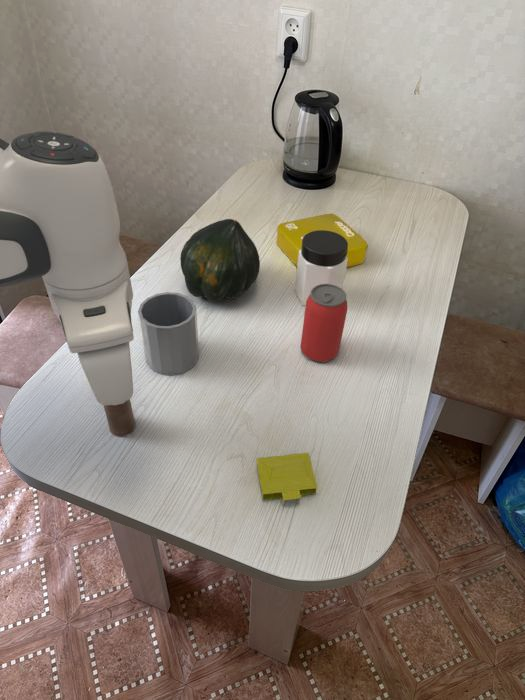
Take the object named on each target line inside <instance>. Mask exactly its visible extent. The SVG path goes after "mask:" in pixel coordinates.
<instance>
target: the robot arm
mask: <svg viewBox="0 0 525 700" xmlns="http://www.w3.org/2000/svg"><path fill="white" fill-rule="evenodd" d="M120 232H121V221H120V215H119V210H118V206H117V200H116V197H115V192H114V189H113V185H112V182H111V179H110V176H109V173H108V170H107V167H106V166H105V162H104V160H103V159H102V158H101V156H100V154H99V153H98V151H97V150H96V149H95V148H94V147H93V146H91V144H89V143H88V142H86V141H84V140H82V139H80V138H77V137H75V136H74V135H70V134H68V133H63V132H59V131H50V130H43V131H42V130H41V131H40V130H39V131H34V132H28V133H23V134H20V135H18V136H16V137H15V138H14V139H12V140H11V141H10V143H8V142H7V141H5V140H3V139H2V138H0V289H1V288H7V287H10V286H15V285H19V284H24V283H27V282H31V281H35V280H36V279H39V278H42V281H43V284H44V287H45V290H46V293H47V295H48V298H49V302H50V305H51V308H52V311H53V312H54V313H55V315H56V317H57V319H58V320H59V323H60V324H61V326H62V330H63V333H64V339H65V341H66V344H67V348H68V351H69V352H70V353H71V354H77V357H78V360H79V362H80V365H81V367H82V371H83V373H84V374H85V377H86V380H87V382H88V384H89V386H90V388H91V389H90V390H91V392H92V394H93V395H94V397H95V399H96V401H97V403H98V404H99V405H101V406H103V405H104V406H106V405H118V404H122V403H124V402H125V401H127V400H130V401H131V399H132V398H133V396H134V382H133V381H134V380H133V367H132V357H131V348H130V342H132V341H134V333H133V332H134V329H133V328H134V327H133V323H132V307H133V299H134V290H133V286H132V280H131V275H130V269H129V264H128V258H127V255H126V252H125V250H124V248H123V246H122V245H121V241H120ZM104 406H103V407H104Z"/></svg>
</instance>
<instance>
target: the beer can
mask: <svg viewBox="0 0 525 700" xmlns="http://www.w3.org/2000/svg"><path fill="white" fill-rule="evenodd" d="M347 313H348V301H347V293H346V291H345V290H344V289H343V288H342V289H341V288H340V287H338V286H335V285H332V284H320V285H317V286H315V287H314V288H313V289H312V290H311V294H310V295H309V297H308V298H307V301H306V306H305V308H304V315H303V316H304V317H303V325H302V332H301V339H300V350H301V352H302V354H303V355H304V356H305V357H306V358H308V359H309V360H311V361H314V362H317V363H318V362H319V363H324V362H329V361H331V360H334V359H335V358H336V357H337V356H338V354H339V353H340V349H341V344H342V339H343V335H344V328H345V324H346V318H347Z"/></svg>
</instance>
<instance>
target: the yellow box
mask: <svg viewBox="0 0 525 700" xmlns="http://www.w3.org/2000/svg"><path fill="white" fill-rule="evenodd" d="M318 230H326V231H332V232H335V233H338V234H340V235H341V236H343V237H344V238H345V239H346V240H347V242H348V251H347V255H346V257H347V259H348V262H347V267H346V269H347V268H350V267H354V266H359V265H361V264H363V263H364V262H365V260H366V255H367V251H368V247H369V243H368V241H367V240H366V239H365V238H364V237H362V236H361V235H360V234H359V233H358V231H356V230H354V229H353V228H352V227H351V226H350V225H348V223H347V222H345V221H344V220H343V219H342V218H341V217H339V216H338V215H337V214H335V213H325V214H321V215H314V216H310V217H306V218H305V217H304V218H300V219H296V220H290V221H286V222H282V223H280V224H278V226H277V230H276V246H277V247H278V248H279V249H280V250H281V251H282V252H283V254H285V255H286V257H288V259H289V260H290V262H292V263H293V264H294V266H295V267H297V264H298V255H299V250H300V249H301V248H302V239H303V237H304V236H305V235H306V234H307V233H310V232H312V231H318Z"/></svg>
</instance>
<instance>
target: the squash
mask: <svg viewBox="0 0 525 700" xmlns="http://www.w3.org/2000/svg"><path fill="white" fill-rule="evenodd" d="M179 259H180V268H181V272H182V274H183V276H184V282H185V287H186V288H187V291H188V292H189V293H190V294H191V295H192V297H195V298H206V299H207V300H208V301H209V302H219V301H221V300H223V298H224V297H225V298H226V299H236V298H237V297H239V296H240V295H241V294H243V293H245V292H246V291H248V290H249V289H250V288H251V287H252V286H253V284H254V283H255V282H256V281H257V279H258V277H259V274H260V268H261V261H260V255H259V251H258V249H257V246H256V244H255V243H254V241H253V239H252V238H251V237H250V236H249V235H248V233H247V232H246V230H245V229H244V228H243V226H242V224H241V223H240V222H239V221H238V220H236V219H232V218H224V219H221V220H218V221H215V222H213V223H210V224H209V225H206V226H204V227H201V228H199V229H198V230H197V231H196V232H194V233H193V234H192V235H191V236H190V238H189V239H188V240H187V241H186V242H185V244H184V245H183V247H182V249H181V252H180V257H179Z"/></svg>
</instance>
